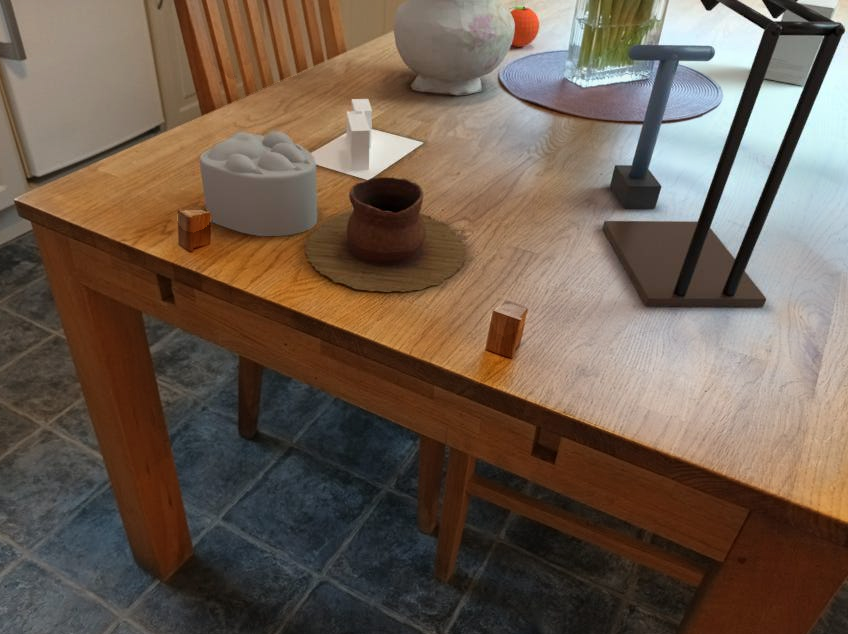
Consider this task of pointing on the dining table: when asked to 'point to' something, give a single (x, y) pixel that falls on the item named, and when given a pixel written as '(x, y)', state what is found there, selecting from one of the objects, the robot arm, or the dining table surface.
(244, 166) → the lumpy-topped squat cylinder
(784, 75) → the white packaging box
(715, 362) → the dining table surface
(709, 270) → the desk lamp
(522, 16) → the clementine
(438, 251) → the ceramic pot
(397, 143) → the napkin holder
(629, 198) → the brush
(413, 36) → the grey round vase
